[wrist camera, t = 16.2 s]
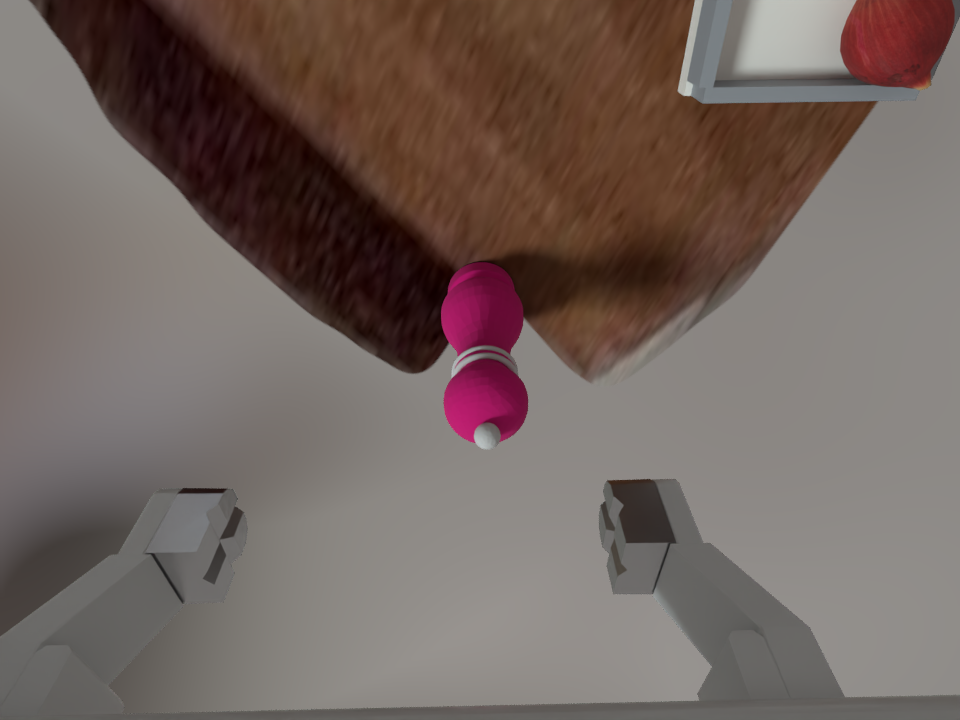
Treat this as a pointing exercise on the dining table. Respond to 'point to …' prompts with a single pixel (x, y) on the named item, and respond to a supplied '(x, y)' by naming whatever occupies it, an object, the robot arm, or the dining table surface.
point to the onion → (896, 40)
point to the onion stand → (775, 54)
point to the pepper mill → (484, 355)
